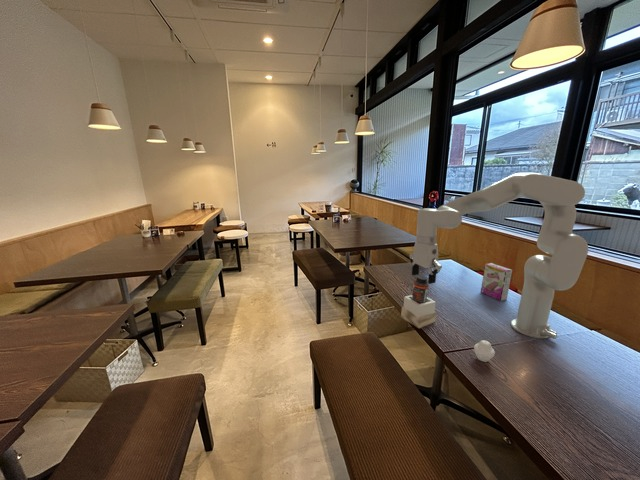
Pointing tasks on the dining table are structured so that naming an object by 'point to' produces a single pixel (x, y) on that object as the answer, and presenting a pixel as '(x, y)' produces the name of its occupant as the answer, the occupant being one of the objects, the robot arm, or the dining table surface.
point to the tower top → (419, 306)
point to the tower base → (417, 318)
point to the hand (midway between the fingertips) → (423, 278)
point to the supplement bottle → (420, 290)
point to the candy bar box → (496, 281)
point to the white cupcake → (484, 351)
